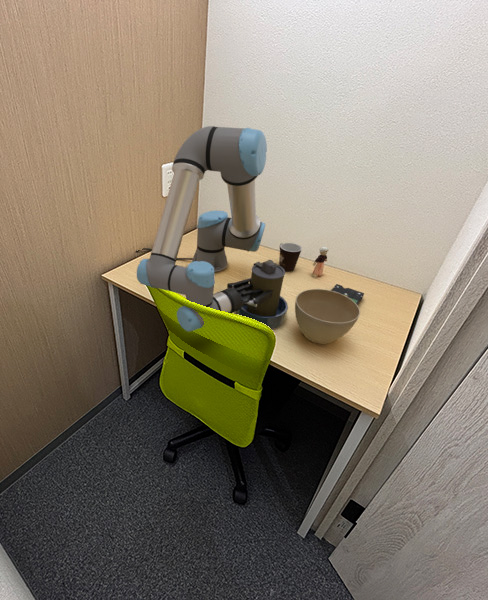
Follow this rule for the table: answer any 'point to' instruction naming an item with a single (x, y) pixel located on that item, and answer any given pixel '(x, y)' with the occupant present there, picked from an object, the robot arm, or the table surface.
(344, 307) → the tan rounded vessel
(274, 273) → the canister
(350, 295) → the disk drive
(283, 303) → the bowl
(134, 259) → the table surface
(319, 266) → the grandmother figurine
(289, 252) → the coffee mug
